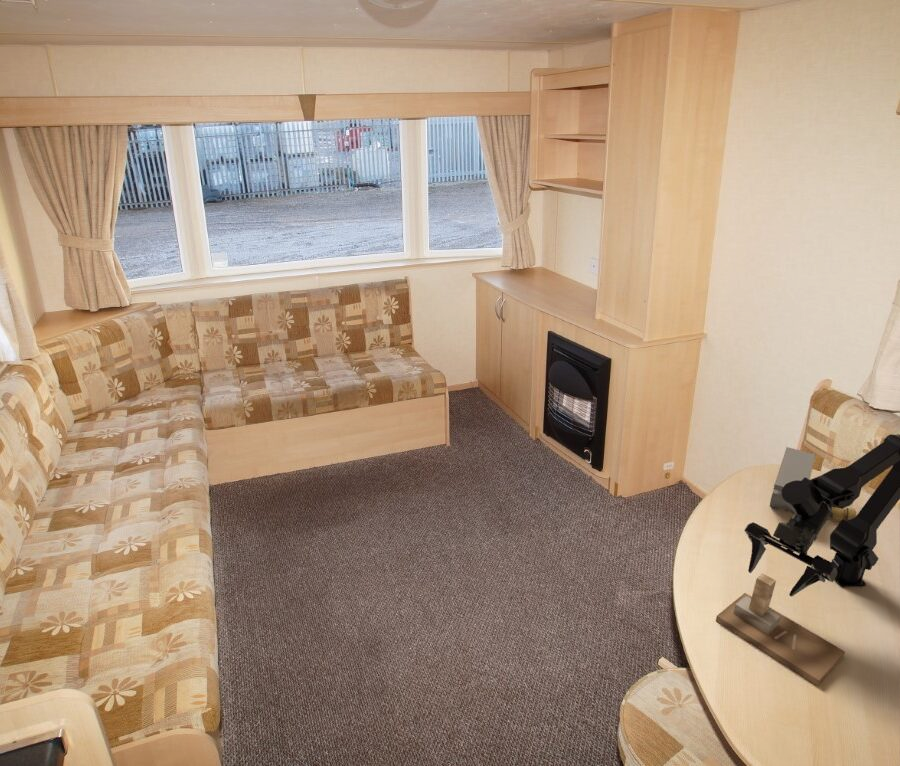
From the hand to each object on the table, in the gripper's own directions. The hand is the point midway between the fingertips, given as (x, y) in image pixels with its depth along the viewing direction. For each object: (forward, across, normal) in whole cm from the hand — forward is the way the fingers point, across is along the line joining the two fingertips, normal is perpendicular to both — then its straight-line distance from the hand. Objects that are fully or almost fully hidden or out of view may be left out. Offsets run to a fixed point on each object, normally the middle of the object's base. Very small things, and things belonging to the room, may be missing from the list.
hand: (769, 583), depth 140 cm
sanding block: (+8, 0, +4) cm, 9 cm away
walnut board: (+9, +5, +6) cm, 12 cm away
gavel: (-36, -12, +50) cm, 63 cm away
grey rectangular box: (-30, -20, +44) cm, 57 cm away
